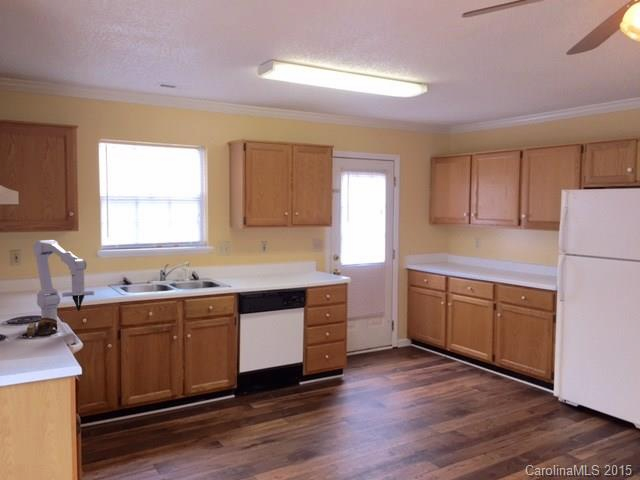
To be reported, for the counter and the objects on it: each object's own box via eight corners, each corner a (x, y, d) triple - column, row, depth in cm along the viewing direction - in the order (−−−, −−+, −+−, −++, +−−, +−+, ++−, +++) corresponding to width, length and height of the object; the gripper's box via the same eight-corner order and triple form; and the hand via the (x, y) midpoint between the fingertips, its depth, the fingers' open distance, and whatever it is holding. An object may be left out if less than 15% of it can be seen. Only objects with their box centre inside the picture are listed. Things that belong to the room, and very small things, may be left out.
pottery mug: (30, 334, 259) (35, 318, 263) (49, 339, 266) (54, 323, 269) (42, 331, 252) (48, 314, 256) (61, 336, 259) (66, 320, 263)
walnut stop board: (30, 330, 264) (30, 322, 264) (36, 330, 265) (35, 322, 264) (27, 336, 253) (26, 327, 252) (32, 335, 254) (32, 327, 253)
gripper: (61, 285, 261) (62, 312, 261) (93, 283, 266) (94, 310, 267) (62, 283, 267) (63, 310, 268) (93, 281, 272) (94, 308, 273)
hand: (78, 310), depth 268 cm, fingers closed
